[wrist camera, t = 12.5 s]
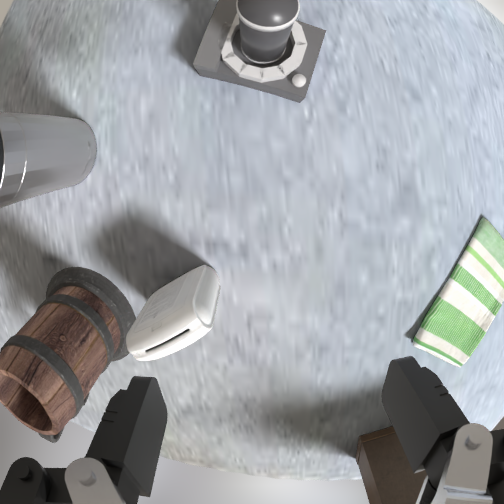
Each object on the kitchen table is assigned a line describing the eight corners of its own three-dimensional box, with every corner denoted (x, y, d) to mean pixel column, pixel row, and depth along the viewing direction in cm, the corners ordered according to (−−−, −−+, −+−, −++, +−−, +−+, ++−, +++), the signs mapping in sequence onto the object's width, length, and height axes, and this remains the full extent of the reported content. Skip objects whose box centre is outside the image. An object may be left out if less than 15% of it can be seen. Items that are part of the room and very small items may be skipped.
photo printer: (164, 318, 40) (139, 376, 28) (146, 294, 39) (113, 347, 27) (226, 285, 39) (218, 341, 27) (207, 258, 37) (191, 306, 26)
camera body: (200, 75, 30) (192, 64, 25) (223, 14, 27) (220, -4, 23) (299, 102, 31) (307, 95, 27) (319, 40, 29) (329, 25, 24)
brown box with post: (354, 465, 55) (385, 583, 22) (358, 436, 50) (401, 577, 17) (424, 442, 54) (469, 545, 21) (437, 409, 49) (499, 526, 16)
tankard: (45, 253, 37) (-46, 316, 18) (144, 287, 39) (78, 388, 20) (52, 366, 44) (2, 438, 25) (132, 398, 46) (98, 488, 27)
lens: (234, 59, 27) (228, 20, 17) (247, 23, 25) (246, -24, 16) (279, 70, 27) (291, 34, 17) (290, 34, 26) (305, -10, 16)
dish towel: (519, 263, 39) (528, 268, 37) (456, 362, 46) (462, 370, 43) (479, 215, 36) (490, 219, 34) (403, 338, 43) (410, 347, 40)
